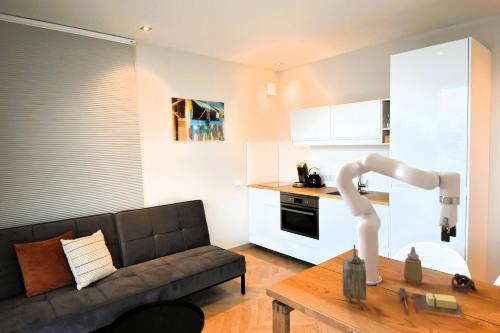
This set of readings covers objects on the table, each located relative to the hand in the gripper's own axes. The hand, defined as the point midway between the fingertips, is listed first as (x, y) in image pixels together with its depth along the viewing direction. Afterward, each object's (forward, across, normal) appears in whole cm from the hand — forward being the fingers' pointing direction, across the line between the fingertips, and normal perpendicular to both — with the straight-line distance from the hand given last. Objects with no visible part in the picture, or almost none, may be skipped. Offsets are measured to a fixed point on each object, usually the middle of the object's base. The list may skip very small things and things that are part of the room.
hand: (448, 238), depth 134 cm
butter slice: (+24, +16, -2) cm, 29 cm away
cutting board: (+25, +15, 0) cm, 29 cm away
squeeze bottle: (+25, 0, -14) cm, 29 cm away
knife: (+25, +21, -10) cm, 34 cm away
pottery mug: (+25, -8, +4) cm, 27 cm away
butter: (+24, +13, +2) cm, 28 cm away
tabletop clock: (+26, +34, -26) cm, 50 cm away
